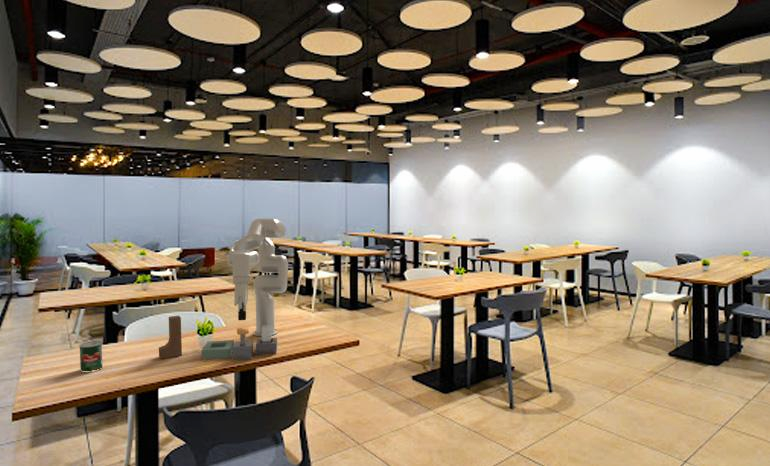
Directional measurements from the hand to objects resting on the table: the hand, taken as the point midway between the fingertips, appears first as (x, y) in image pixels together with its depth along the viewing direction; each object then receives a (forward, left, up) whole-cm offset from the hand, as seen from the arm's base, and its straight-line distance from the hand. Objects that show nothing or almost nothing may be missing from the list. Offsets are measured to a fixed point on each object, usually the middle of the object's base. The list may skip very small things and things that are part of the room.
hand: (242, 319), depth 207 cm
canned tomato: (+5, -61, -18) cm, 63 cm away
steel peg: (-6, +10, -17) cm, 21 cm away
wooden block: (-7, -33, -18) cm, 38 cm away
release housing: (0, 0, -17) cm, 17 cm away
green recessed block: (-7, -12, -17) cm, 22 cm away
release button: (0, 0, -13) cm, 13 cm away
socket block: (-6, +10, -17) cm, 21 cm away
